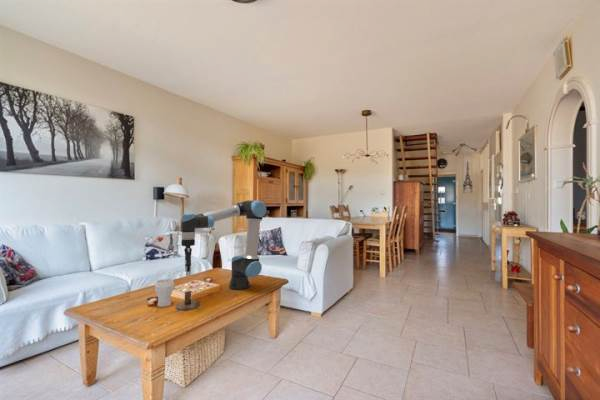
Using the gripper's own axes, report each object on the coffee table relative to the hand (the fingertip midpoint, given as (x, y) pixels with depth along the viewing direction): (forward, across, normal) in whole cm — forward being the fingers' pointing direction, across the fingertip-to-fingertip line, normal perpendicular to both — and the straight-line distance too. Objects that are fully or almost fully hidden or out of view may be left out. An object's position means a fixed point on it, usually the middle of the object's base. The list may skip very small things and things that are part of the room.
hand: (187, 274), depth 170 cm
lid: (+19, 0, 0) cm, 19 cm away
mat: (+20, 0, 0) cm, 20 cm away
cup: (+20, -9, -13) cm, 26 cm away
